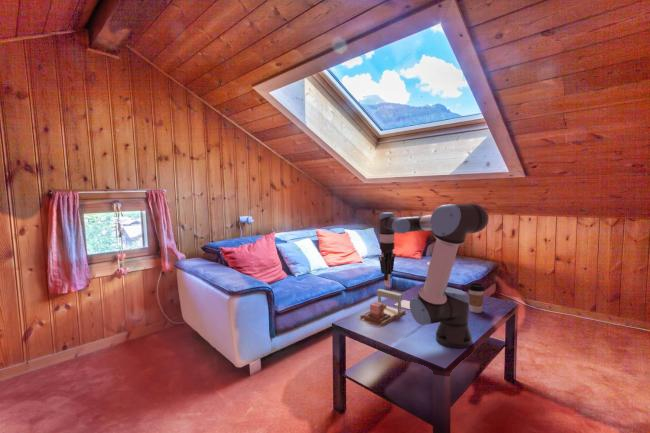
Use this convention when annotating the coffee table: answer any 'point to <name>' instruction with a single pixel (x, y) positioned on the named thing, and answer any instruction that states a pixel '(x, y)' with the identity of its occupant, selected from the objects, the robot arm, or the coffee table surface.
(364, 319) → the puzzle board
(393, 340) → the coffee table surface
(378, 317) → the block
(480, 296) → the coffee cup
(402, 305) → the mat
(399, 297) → the cover bar
